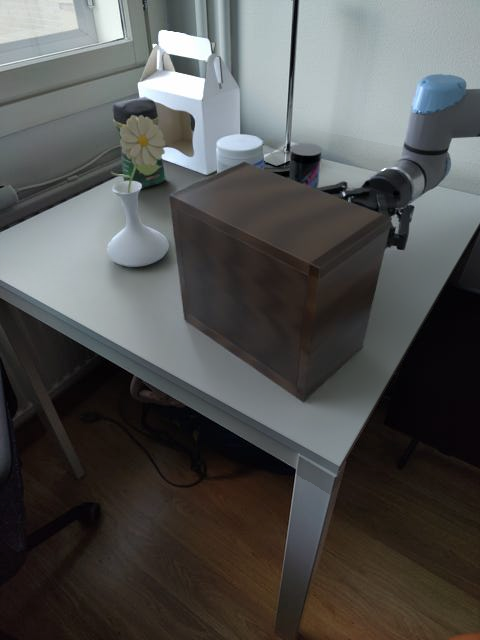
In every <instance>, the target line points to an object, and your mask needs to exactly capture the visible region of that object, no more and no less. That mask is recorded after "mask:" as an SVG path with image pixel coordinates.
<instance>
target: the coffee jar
mask: <svg viewBox="0 0 480 640" xmlns="http://www.w3.org/2000/svg"><path fill="white" fill-rule="evenodd" d="M156 109H157V108H156V105H155V102H154V101H153V100H151V99H149V98H147V97H142V98H140V97H138V98H132V99H128V100H124V101H117V102H114V103H112V120H113V121H112V122H113V124H114V126H115V127H116V129H117V132H118V136H119V143H120V154H121V170H122V174H123V175H128V176H130V177H131V175H132V172H133V169H134V166H135V164H133V163H132V159H129V158H128V157H127V154H124V153H123V152H122V149H123V148H122V144H121V142H120V140H121V139H122V137H121V136H120V132H121V131H120V128H121V127H122V125H123V124H125V125H127V123H126V122H127V120H128V119H129V118H131V116H132V115H134V116H137V117H138V118H139V116H140V115H142V116H143V117H144V118H145V117H148V118H149V119H151V120H152V122H153V124H155V125H157V124H158V113H157V110H156ZM156 160H157V163H156V164H157V165H158V166H159V169H158V170H157V171H155V172H154V173H152V174H150V175H144V174H143V173H141V172H140V171H139V170H138V169H137V168H136V170H135V173H134V176H133V179H132V181H136V182H139V183H141V185H142V188H141V189H145V188H148V187H152V186H156V185H158V184H161V183H163V182H164V181H165V180H166V172H165V165H164V161H163V159H162V158H161V159H160V160H158V159H156ZM137 165H138V164H137ZM122 178H123V181H130V178H127V177H122Z"/></svg>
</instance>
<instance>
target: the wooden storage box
mask: <svg viewBox="0 0 480 640" xmlns="http://www.w3.org/2000/svg"><path fill="white" fill-rule="evenodd" d="M168 199H169V207H170V216H171V222H172V223H171V224H172V231H173V239H174V247H175V255H176V264H177V269H178V270H177V272H178V279H179V288H180V295H181V304H182V312H183V321H185V322H187V324H189V325H191V326H193V327H194V328H195V329H196V330H198V331H200V332H201V333H202V334H204V335H205V336H207V337H208V338H210V340H213V341H214V342H216V344H218V345H220V346H221V347H223V348H224V349H225V350H227V351H228V352H230V353H231V354H233V355H234V356H235V357H237V358H239V360H242V361H243V362H244V363H245V364H247V365H248V366H250V367H252V368H253V369H254V370H256V371H257V372H259V373H260V374H261V375H262V376H264V377H266V378H267V379H269V380H270V381H272V382H273V383H274V384H276V385H277V386H279V387H280V388H282V389H283V390H284V391H287V393H289V394H290V395H292V396H293V397H295V398H296V399H297V400H299V401H300V402H302V403H305V402H306V401H307V400H308V399H309V398H310V397H312V396H313V395H314V394H315V393H316V392H317V391H318V390H319V389H320V388H321V387H322V386H323V385H324V384H326V383H327V382H328V381H329V380H330V379H331V378H332V377H333V376H334V375H335V374H336V373H337V372H338V371H340V369H341V368H343V367H344V366H345V365H346V364H347V363H348V362H349V361H350V360H351V359H353V357H354V356H356V354H358V353H359V352H360V351H361V350H362V349H363V347H364V343H365V339H366V334H367V329H368V325H369V321H370V316H371V312H372V307H373V304H374V300H375V296H376V295H375V294H376V290H377V286H378V285H377V284H378V282H379V277H380V273H381V269H382V264H383V260H384V255H385V251H386V249H385V247H386V243H387V238H388V234H389V230H390V225H391V222H392V220H393V217H389V216H386V215H383V214H381V213H378V212H375V211H373V210H370V209H367V208H365V207H362V206H359V205H357V204H354V203H351V202H350V200H348V201H346V200H344V199H341V198H338V197H336V196H333V195H330V194H328V193H325V192H322V191H320V190H317V189H314V188H312V187H309V186H306V185H304V184H301V183H299V182H296V181H293V180H291V179H289V177H285V176H282V175H281V174H277V173H274V172H272V171H269V170H268V169H265V168H264V169H262V168H259V167H256V166H254V165H251V164H249V163H246V162H243V163H240V164H238V165H236V166H233V167H231V168H229V169H226V170H224V171H222V172H220V173H215V174H213V175H210V176H208V177H206V178H204V179H201V180H199V181H197V182H194V183H192V184H190V185H187V186H185V187H183V188H180V189H178V190H176V191H174V192H171V193H169V194H168Z"/></svg>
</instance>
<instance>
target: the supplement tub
mask: <svg viewBox="0 0 480 640" xmlns="http://www.w3.org/2000/svg"><path fill="white" fill-rule="evenodd" d="M263 144H264V140H263V139H261V138H260V137H259V136H257V135H256V136H255V135H252V134H245V133H244V134H242V133H240V134H237V135H230V136H226V137H223V138H221V139H219V140H218V141H217V149H216V155H217V170H216V172H217V173H220V172H222V171H224V170H226V169H229V168H231V167H233V166H236V165H238V164H240V163H243V162H246V163H249V164H251V165H254V166H256V167H259V168H262V169H264V170H265V162H264V148H263ZM217 173H216V174H217Z"/></svg>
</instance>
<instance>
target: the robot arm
mask: <svg viewBox="0 0 480 640" xmlns="http://www.w3.org/2000/svg"><path fill="white" fill-rule="evenodd" d="M414 92H415V93H414V95H413V100H412V103H411V104H410V105H411V106H410V113H409V117H408V123H407V128H406V133H405V137H404V138H405V139H404V142H403V146H402V149H401V154H400V158H399V159H398V160H396V161H395V162H393V163H391V164H390V165H388V166H386V167H384V168H383V169H382V170H380V171H378V172H376V173H375V174H373V175H371V176H370V177H369V178H367V179H366V180H365V181H364V182H363V183H362V185H361V186H360V187H356V188H353V189H352V188H350V187H348V182H347V181H340V182H338V183H335V184H331V185H326V186H325V185H324V186H318V188H314V189H317V190H320V191H322V192H325V193H328V194H330V195H333V196H336V197H338V198H341V199H344V200H346V201H349V202H351V203H354V204H357V205H359V206H362V207H365V208H367V209H370V210H373V211H375V212H378V213H381V214H383V215H386V216H389V217H391V218H393V217H394V216H395V215H396V218H397V222H398V230H397V226H394V225H393V222H392V221H391V225H390V230H389V234H388V238H387V243H386V247H385V250H386V249H388V248H392V247H395V248H396V249H397V250H398V251H405V250H406V247H407V242H408V240H409V234H410V223H411V222H412V219H413V215H414V212H415V205H413V204H411V203H413V202H415V201H416V200H418V199H420V197H422V196H423V195H424V194H426V193H428V192H429V191H431V190H434V189H435V188H437V187H438V186H439V185H440V184H441V183H442V181H444V180H445V179H446V178H447V177H448V175H449V173H450V171H451V168H452V159H451V155H450V153H449V149H450V144H451V143H452V139H463V138H480V88H467V81H466V80H465V79H464V78H463V77H460V76H458V75H453V74H441V73H440V74H439V73H436V74H430V75H426V76H424V77H422V78H421V79H420V80H419V82H418V84H417V87H416V89H415V91H414ZM396 230H397V232H396Z"/></svg>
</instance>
